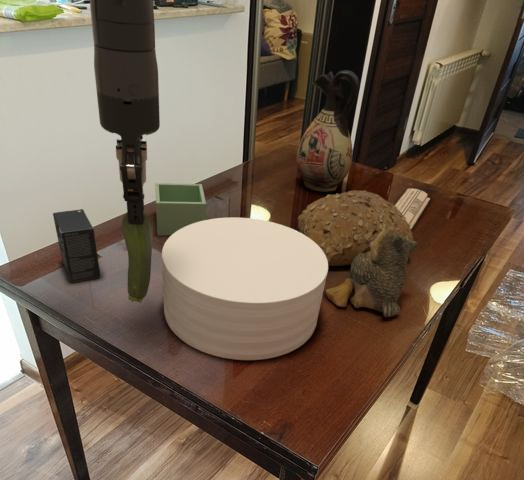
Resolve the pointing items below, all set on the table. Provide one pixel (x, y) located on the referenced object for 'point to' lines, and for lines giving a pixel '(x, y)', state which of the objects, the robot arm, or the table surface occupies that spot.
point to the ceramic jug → (328, 136)
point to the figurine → (377, 275)
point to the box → (77, 245)
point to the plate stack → (242, 287)
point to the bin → (178, 206)
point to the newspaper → (412, 204)
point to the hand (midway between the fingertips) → (136, 216)
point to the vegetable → (138, 256)
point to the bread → (350, 223)
